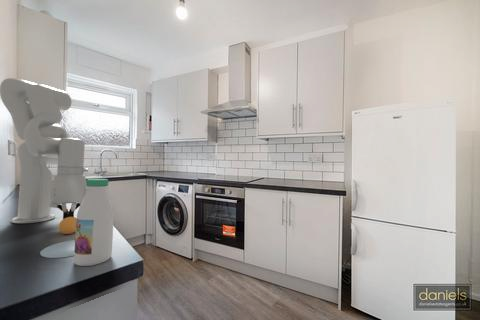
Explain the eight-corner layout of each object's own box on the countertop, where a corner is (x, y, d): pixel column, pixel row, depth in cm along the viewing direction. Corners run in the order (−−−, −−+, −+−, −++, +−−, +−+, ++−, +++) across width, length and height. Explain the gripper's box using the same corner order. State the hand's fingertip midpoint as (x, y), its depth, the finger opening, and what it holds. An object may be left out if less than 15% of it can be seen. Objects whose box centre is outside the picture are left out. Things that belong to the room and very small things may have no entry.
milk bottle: (107, 251, 58) (111, 177, 59) (115, 260, 53) (119, 179, 53) (71, 258, 53) (76, 178, 53) (76, 270, 47) (81, 180, 48)
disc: (41, 245, 60) (41, 245, 60) (96, 236, 69) (96, 236, 69) (39, 262, 50) (39, 261, 50) (103, 249, 59) (103, 249, 59)
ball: (57, 233, 71) (58, 216, 71) (78, 230, 75) (79, 214, 75) (58, 237, 67) (59, 219, 67) (80, 234, 70) (81, 217, 71)
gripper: (93, 171, 86) (91, 217, 86) (43, 171, 76) (40, 223, 76) (96, 172, 80) (94, 221, 80) (42, 172, 71) (39, 228, 70)
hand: (68, 222), depth 78 cm, fingers closed
